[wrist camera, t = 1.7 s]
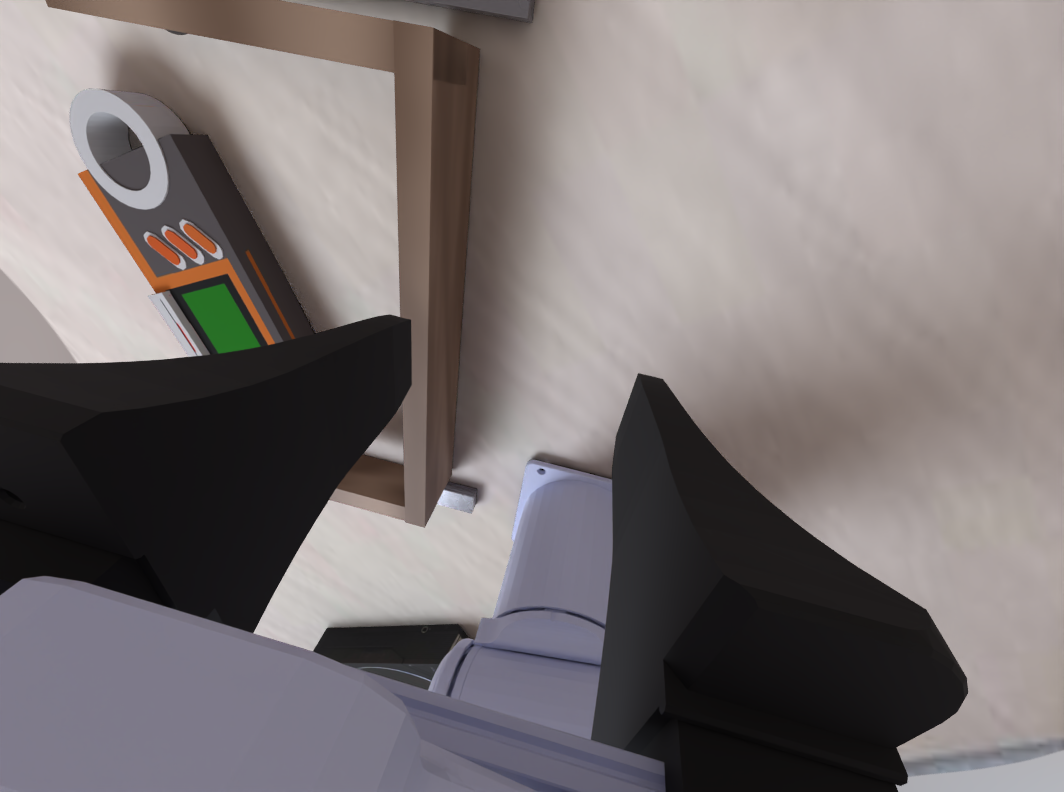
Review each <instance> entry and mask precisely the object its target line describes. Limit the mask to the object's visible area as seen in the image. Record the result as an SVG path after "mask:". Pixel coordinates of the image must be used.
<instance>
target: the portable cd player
mask: <svg viewBox="0 0 1064 792" xmlns="http://www.w3.org/2000/svg"><path fill="white" fill-rule="evenodd" d="M466 638H468V636H467V635H466V634H465V633H464V631H463V630H462V629H461V627H460V626H459V625H458V624H449V625H416V626H383V627H350V628H327V629H326V631H325V632H324V634H323V636H322V637H321V639H320V641H319V642H318V644H317V646H316V647H315V649H314V651H313V652H315V653H318V654H320V655H323V656H325V657H327V658H330V659H332V660H334V661H337V662H339V663H341V664H344V665H346V666H350V667H353V668H356V669H360V670H363V671H366V672H369V673H373V674H376V675H379V676H383V677H386V678H389V679H392V680H396V681H399V682H402V683H405V684H409V685H412V686H415V687H419V688H422V689H425V690H428V689H429V687H430V684H431V681H432V679H433V677H434V674H435V672H436V670H437V668H438V666H439V665H440V663H441V661H442V660H443V658H444V657H445V656H446V655H447V654H448V653H449V652H450V651H451V650H452V649H453V648H454V646H455V645H456V644H457V643H458V642H459V641H461V640H462V639H466Z"/></svg>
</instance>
